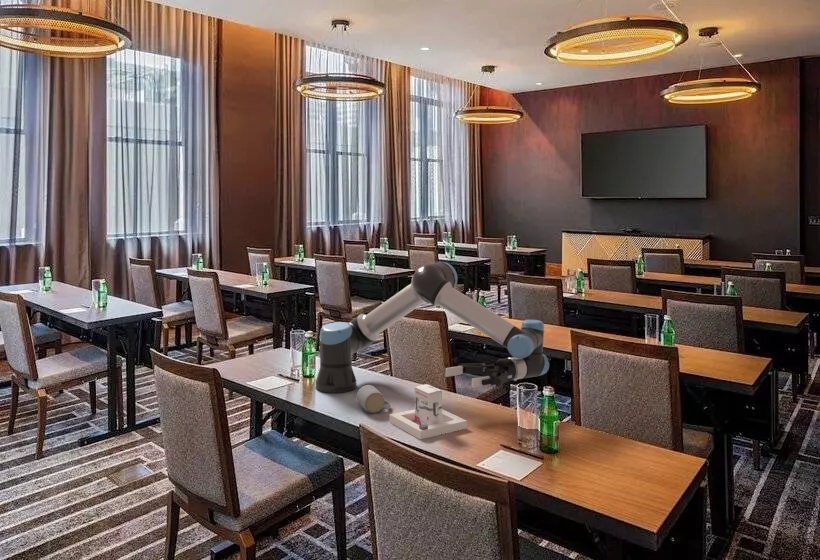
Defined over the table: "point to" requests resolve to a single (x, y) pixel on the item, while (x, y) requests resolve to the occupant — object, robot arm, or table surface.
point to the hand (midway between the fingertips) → (458, 377)
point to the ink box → (428, 405)
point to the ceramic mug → (371, 399)
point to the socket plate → (424, 431)
